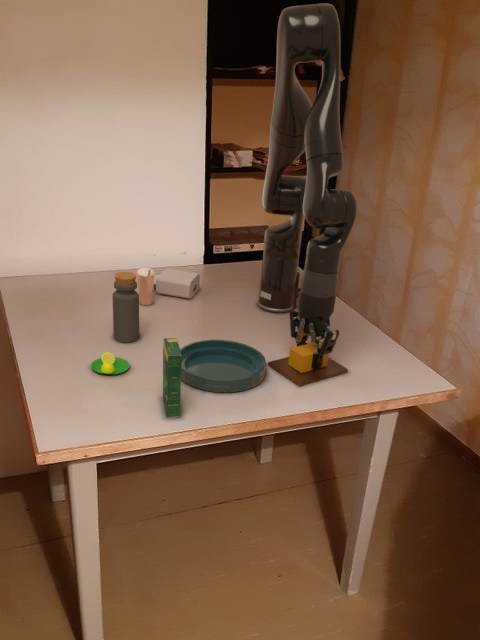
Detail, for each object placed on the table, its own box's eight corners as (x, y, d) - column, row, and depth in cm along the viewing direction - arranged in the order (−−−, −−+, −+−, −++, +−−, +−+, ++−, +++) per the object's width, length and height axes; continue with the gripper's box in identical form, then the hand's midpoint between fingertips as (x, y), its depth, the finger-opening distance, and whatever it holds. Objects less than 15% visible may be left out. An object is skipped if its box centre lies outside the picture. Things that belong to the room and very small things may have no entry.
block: (313, 357, 151) (316, 341, 149) (327, 366, 148) (329, 349, 146) (287, 364, 147) (290, 348, 145) (301, 373, 144) (303, 356, 142)
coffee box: (161, 396, 133) (162, 336, 126) (176, 396, 133) (177, 336, 126) (165, 418, 126) (166, 355, 119) (180, 417, 127) (182, 355, 120)
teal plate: (231, 345, 155) (232, 333, 154) (282, 380, 143) (284, 367, 141) (159, 362, 145) (159, 349, 144) (207, 401, 133) (208, 388, 131)
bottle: (134, 344, 152) (133, 281, 144) (109, 340, 153) (107, 277, 145) (142, 334, 157) (142, 272, 149) (118, 330, 158) (117, 269, 150)
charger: (148, 280, 187) (199, 288, 184) (135, 291, 179) (189, 300, 177) (148, 264, 184) (200, 272, 182) (135, 274, 177) (190, 283, 174)
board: (315, 352, 155) (315, 349, 155) (347, 372, 148) (348, 369, 148) (267, 365, 148) (267, 362, 148) (299, 386, 141) (299, 383, 140)
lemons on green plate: (85, 363, 142) (85, 351, 141) (120, 356, 146) (120, 345, 145) (99, 379, 137) (98, 367, 135) (135, 372, 141) (135, 360, 139)
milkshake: (140, 308, 170) (140, 270, 165) (134, 300, 174) (134, 263, 169) (158, 306, 172) (158, 268, 166) (151, 299, 176) (152, 261, 170)
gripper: (355, 298, 135) (342, 373, 145) (310, 276, 145) (300, 347, 154) (328, 304, 132) (316, 380, 141) (283, 280, 141) (274, 353, 150)
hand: (308, 363), depth 147 cm, fingers closed on block, 4 cm apart
